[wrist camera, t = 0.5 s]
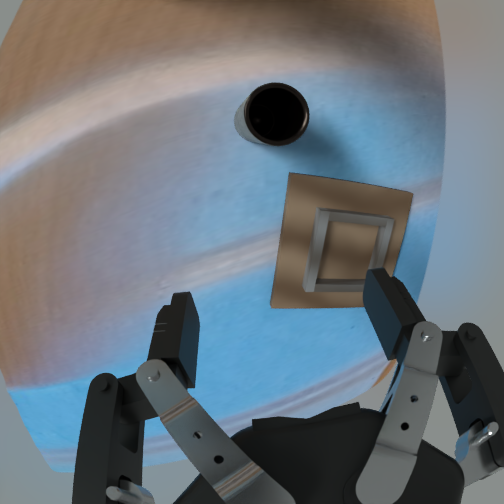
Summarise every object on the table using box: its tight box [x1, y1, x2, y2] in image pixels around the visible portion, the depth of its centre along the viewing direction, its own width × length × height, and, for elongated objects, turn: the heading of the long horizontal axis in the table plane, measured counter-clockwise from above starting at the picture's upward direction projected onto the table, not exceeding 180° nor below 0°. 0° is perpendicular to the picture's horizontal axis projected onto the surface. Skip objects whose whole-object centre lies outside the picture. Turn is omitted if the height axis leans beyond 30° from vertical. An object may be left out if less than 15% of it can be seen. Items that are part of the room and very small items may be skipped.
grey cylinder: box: [234, 83, 309, 146], centre depth 22 cm, size 4×4×10 cm
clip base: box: [270, 172, 413, 308], centre depth 33 cm, size 16×16×2 cm
